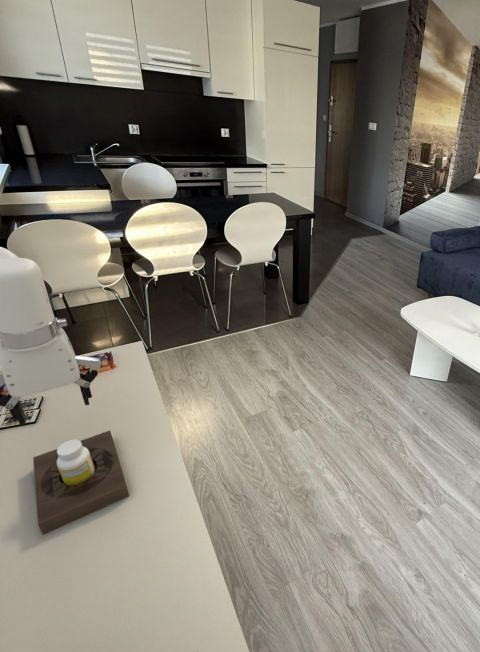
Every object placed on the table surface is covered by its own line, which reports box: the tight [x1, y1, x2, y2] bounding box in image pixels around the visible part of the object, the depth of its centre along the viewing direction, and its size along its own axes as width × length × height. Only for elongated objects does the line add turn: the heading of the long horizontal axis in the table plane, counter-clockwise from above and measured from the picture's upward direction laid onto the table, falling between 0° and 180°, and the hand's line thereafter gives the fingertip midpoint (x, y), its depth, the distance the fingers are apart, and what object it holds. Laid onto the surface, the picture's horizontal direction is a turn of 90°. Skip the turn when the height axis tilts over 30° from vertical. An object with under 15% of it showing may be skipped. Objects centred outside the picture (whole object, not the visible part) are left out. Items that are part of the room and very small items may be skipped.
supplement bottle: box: [56, 439, 97, 485], centre depth 79 cm, size 5×5×10 cm
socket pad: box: [32, 430, 130, 535], centre depth 81 cm, size 18×14×3 cm
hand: (55, 410), depth 74 cm, fingers open, 9 cm apart
